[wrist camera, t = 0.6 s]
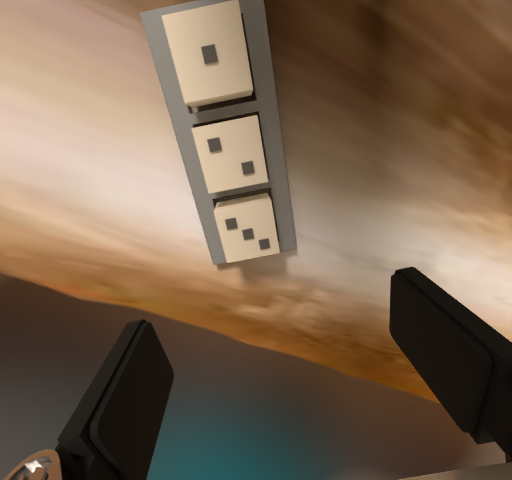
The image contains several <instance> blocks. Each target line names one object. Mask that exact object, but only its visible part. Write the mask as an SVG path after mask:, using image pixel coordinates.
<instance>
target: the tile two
mask: <svg viewBox="0 0 512 480" xmlns="http://www.w3.org/2000/svg"><path fill="white" fill-rule="evenodd" d="M191 129H192V133H193V137H194V140H195V144H196V148H197V152H198V155H199V159H200V163H201V167H202V171H203V174H204V178H205V182H206V186H207V189H208V193H215V192H220V191H225V190H230V189H235V188H240V187H245V186H250V185H255V184H260V183H265V182H268V177H267V171H266V165H265V159H264V153H263V147H262V141H261V135H260V129H259V123H258V116H257V115H254V116H249V117H245V118H240V119H235V120H230V121H225V122H220V123H215V124H210V125H205V126H200V127H196V128H191Z"/></svg>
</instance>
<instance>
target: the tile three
mask: <svg viewBox="0 0 512 480" xmlns="http://www.w3.org/2000/svg"><path fill="white" fill-rule="evenodd" d="M214 216H215V219H216V223H217V227H218V231H219V234H220V238H221V242H222V246H223V250H224V253H225V257H226V261H227V263H231V262H236V261H241V260H246V259H252V258H257V257H262V256H267V255H272V254H278V253H280V251H279V245H278V239H277V232H276V226H275V220H274V214H273V208H272V202H271V199H270V197H269V195H268V193H263V194H258V195H252V196H247V197H242V198H237V199H232V200H227V201H222V202H217V204H216V207H215V210H214Z"/></svg>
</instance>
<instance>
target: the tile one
mask: <svg viewBox="0 0 512 480" xmlns="http://www.w3.org/2000/svg"><path fill="white" fill-rule="evenodd" d="M162 20H163V24H164V27H165V31H166V35H167V39H168V43H169V46H170V50H171V54H172V58H173V61H174V65H175V69H176V73H177V76H178V80H179V84H180V88H181V91H182V95H183V99H184V103H185V104H187V105H189V106H191V107H197V106H202V105H207V104H212V103H217V102H222V101H226V100H231V99H236V98H241V97H246V96H251V94H252V91H253V86H252V80H251V74H250V68H249V61H248V55H247V49H246V43H245V37H244V31H243V25H242V19H241V13H240V6H239V0H232V1H227V2H222V3H218V4H213V5H208V6H204V7H199V8H194V9H190V10H185V11H180V12H176V13H171V14H166V15H162Z"/></svg>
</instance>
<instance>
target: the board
mask: <svg viewBox="0 0 512 480" xmlns="http://www.w3.org/2000/svg"><path fill="white" fill-rule="evenodd" d="M227 1H232V0H197V1H192V2H187V3H183V4H178V5H173V6H169V7H164V8H159V9H155V10H150V11H145V12H141V13H140V15H141V19H142V22H143V26H144V29H145V32H146V36H147V39H148V43H149V46H150V50H151V53H152V56H153V60H154V63H155V67H156V70H157V74H158V77H159V80H160V84H161V87H162V91H163V94H164V97H165V101H166V104H167V108H168V111H169V115H170V118H171V121H172V125H173V128H174V132H175V135H176V139H177V142H178V145H179V149H180V152H181V156H182V159H183V162H184V166H185V169H186V173H187V176H188V180H189V183H190V186H191V190H192V193H193V197H194V200H195V204H196V207H197V210H198V214H199V217H200V221H201V224H202V227H203V231H204V234H205V238H206V241H207V245H208V248H209V251H210V255H211V258H212V262H213V265H215V264H220V263H225V262H227V261H226V257H225V253H224V250H223V246H222V242H221V238H220V234H219V231H218V227H217V223H216V219H215V216H214V210H215V207H216V205H215V201H214V198H219V197H224V196H229V195H235V194H240V193H245V192H250V191H255V190H260V189H265V188H270V190H271V197H272V203H273V209H274V215H275V221H276V227H277V234H278V237H277V239H278V245H279V251H280V252H283V251H288V250H293V249H296V241H295V234H294V226H293V218H292V211H291V203H290V196H289V188H288V181H287V173H286V165H285V158H284V150H283V143H282V135H281V128H280V120H279V112H278V105H277V97H276V90H275V82H274V75H273V67H272V59H271V52H270V44H269V37H268V29H267V22H266V14H265V6H264V0H239V6H240V13H241V19H242V20H243V24H244V30H245V36H246V43H247V49H248V55H249V61H250V67H251V73H252V79H253V86H254V92H255V98H256V100H255V101H250V102H245V103H240V104H236V105H231V106H226V107H221V108H216V109H211V110H206V111H201V112H197V113H192V112H191V108H190V106H189V105H187V104H185V103H184V99H183V95H182V91H181V88H180V84H179V80H178V76H177V73H176V69H175V65H174V61H173V58H172V54H171V50H170V46H169V43H168V39H167V35H166V31H165V27H164V24H163V20H162V15H166V14H171V13H176V12H180V11H185V10H190V9H194V8H199V7H204V6H208V5H213V4H218V3H222V2H227ZM256 112H258V116H259V123H260V129H261V135H262V141H263V147H264V153H265V160H266V166H267V172H268V182H265V183H260V184H255V185H250V186H245V187H240V188H235V189H230V190H225V191H220V192H215V193H208V189H207V186H206V182H205V178H204V174H203V171H202V167H201V163H200V159H199V155H198V152H197V148H196V144H195V140H194V137H193V133H192V129H191V128H195V125H197V124H202V123H207V122H211V121H216V120H221V119H226V118H231V117H236V116H241V115H246V114H251V113H256Z"/></svg>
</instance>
